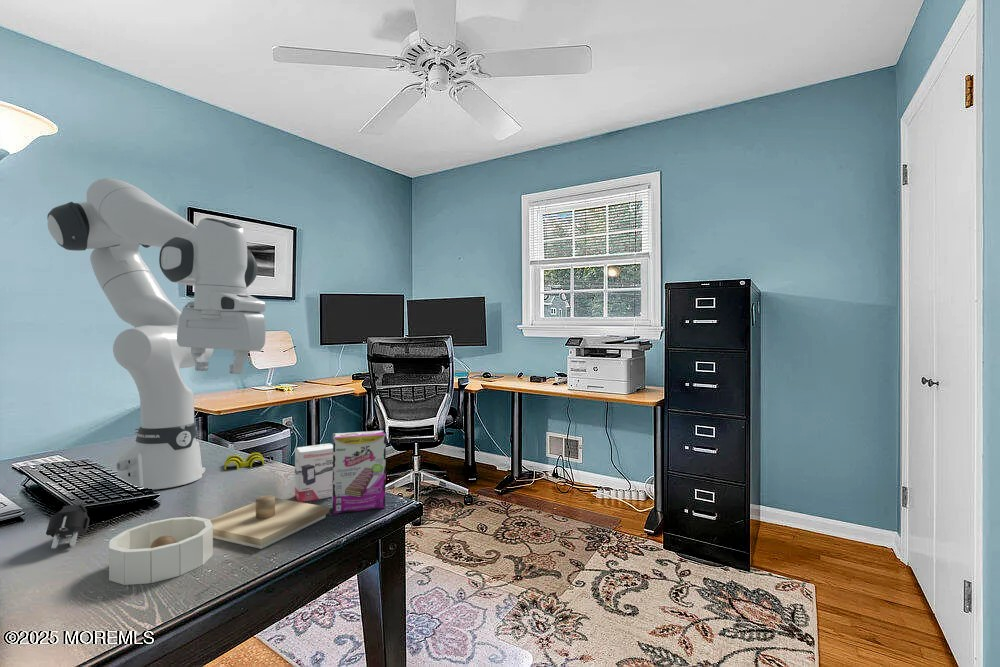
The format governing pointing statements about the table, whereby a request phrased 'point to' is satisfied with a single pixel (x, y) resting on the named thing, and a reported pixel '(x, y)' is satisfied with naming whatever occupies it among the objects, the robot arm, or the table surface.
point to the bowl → (160, 550)
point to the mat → (270, 541)
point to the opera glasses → (241, 463)
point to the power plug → (68, 524)
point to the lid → (265, 519)
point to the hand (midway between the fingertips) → (218, 372)
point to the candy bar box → (358, 471)
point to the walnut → (162, 541)
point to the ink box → (313, 472)
